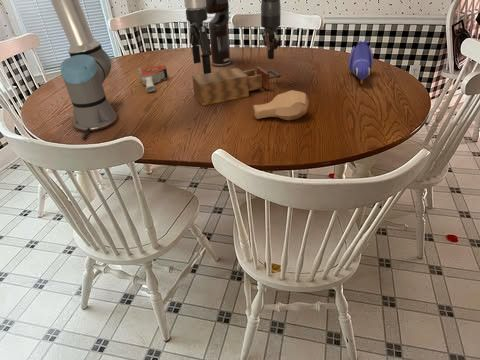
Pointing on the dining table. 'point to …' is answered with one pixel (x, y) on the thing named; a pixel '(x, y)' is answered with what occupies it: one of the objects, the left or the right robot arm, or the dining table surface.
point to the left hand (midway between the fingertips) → (202, 67)
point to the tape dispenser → (152, 76)
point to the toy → (361, 60)
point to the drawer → (259, 78)
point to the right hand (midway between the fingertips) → (270, 58)
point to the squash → (284, 106)
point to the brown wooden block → (220, 86)
